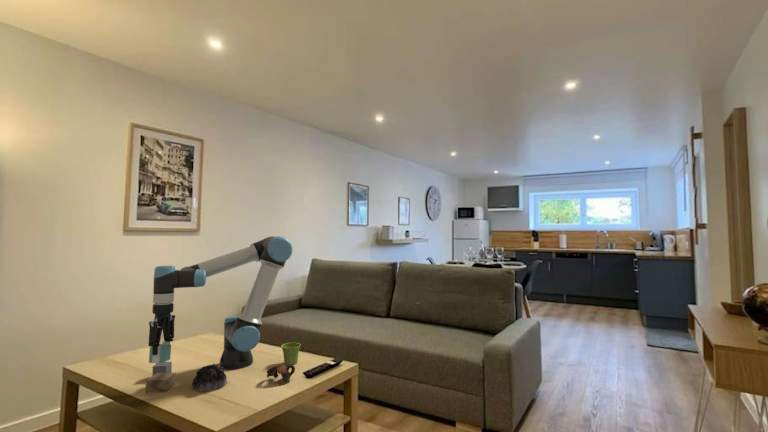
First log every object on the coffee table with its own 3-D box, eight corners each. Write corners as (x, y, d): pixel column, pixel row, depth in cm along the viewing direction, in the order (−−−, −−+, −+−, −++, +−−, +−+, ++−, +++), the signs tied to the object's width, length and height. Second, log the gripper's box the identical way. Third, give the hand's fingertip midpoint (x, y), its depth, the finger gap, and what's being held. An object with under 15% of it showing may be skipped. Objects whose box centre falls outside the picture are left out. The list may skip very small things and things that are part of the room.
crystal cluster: (203, 380, 166) (200, 358, 166) (234, 378, 166) (231, 355, 166) (186, 396, 153) (183, 372, 152) (220, 393, 152) (217, 369, 152)
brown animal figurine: (274, 389, 157) (266, 370, 159) (269, 392, 164) (262, 373, 166) (300, 375, 164) (293, 357, 166) (295, 378, 171) (288, 361, 173)
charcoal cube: (171, 375, 171) (171, 361, 171) (165, 379, 165) (166, 365, 166) (158, 375, 170) (158, 362, 170) (152, 380, 165) (152, 366, 165)
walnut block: (175, 384, 161) (176, 372, 161) (166, 392, 153) (166, 379, 153) (156, 385, 160) (156, 373, 160) (145, 393, 152) (146, 380, 152)
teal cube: (170, 359, 159) (171, 344, 160) (161, 363, 154) (162, 348, 154) (157, 358, 160) (158, 343, 160) (148, 362, 154) (149, 347, 154)
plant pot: (276, 364, 184) (277, 346, 184) (288, 358, 193) (288, 341, 193) (293, 367, 181) (293, 348, 181) (304, 361, 189) (304, 343, 190)
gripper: (168, 299, 167) (166, 352, 166) (139, 307, 149) (136, 367, 148) (185, 299, 167) (182, 353, 166) (157, 307, 148) (154, 368, 147)
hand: (160, 360), depth 157 cm, fingers closed on teal cube, 5 cm apart
